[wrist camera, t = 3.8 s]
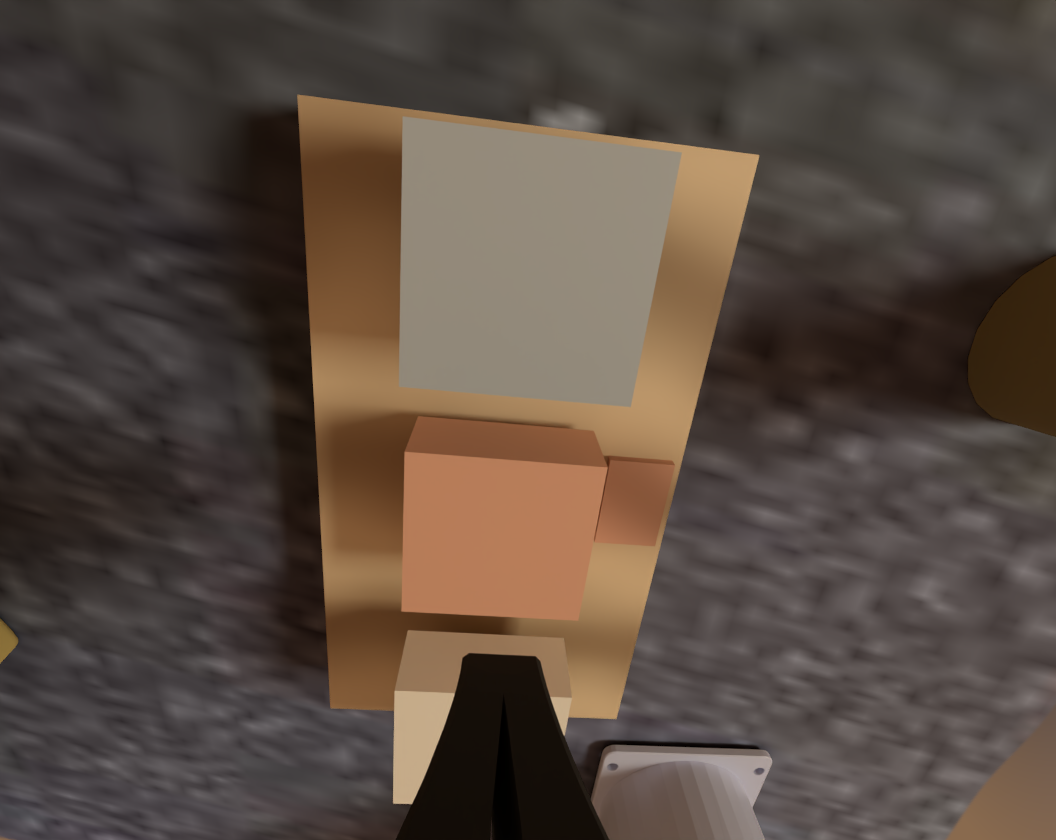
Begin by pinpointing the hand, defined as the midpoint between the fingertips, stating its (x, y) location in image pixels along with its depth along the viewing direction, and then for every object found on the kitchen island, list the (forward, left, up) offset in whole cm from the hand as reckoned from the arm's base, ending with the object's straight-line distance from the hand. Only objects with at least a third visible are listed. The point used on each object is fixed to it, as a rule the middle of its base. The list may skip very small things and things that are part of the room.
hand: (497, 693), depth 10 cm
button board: (0, 0, -9) cm, 9 cm away
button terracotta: (0, 0, -7) cm, 7 cm away
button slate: (+7, 0, -6) cm, 9 cm away
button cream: (-7, 0, -6) cm, 9 cm away
